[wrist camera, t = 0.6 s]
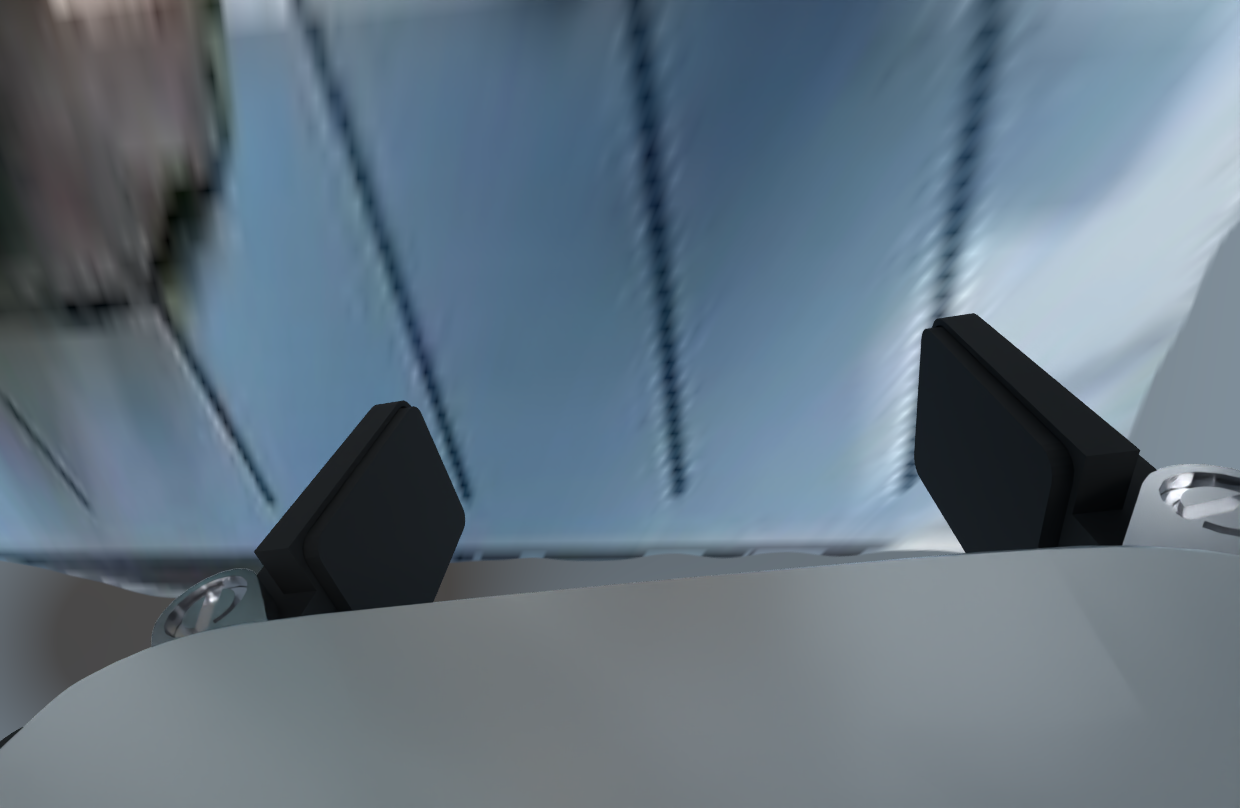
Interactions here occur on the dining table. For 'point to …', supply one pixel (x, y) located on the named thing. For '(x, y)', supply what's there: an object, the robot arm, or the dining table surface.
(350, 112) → the dining table surface
